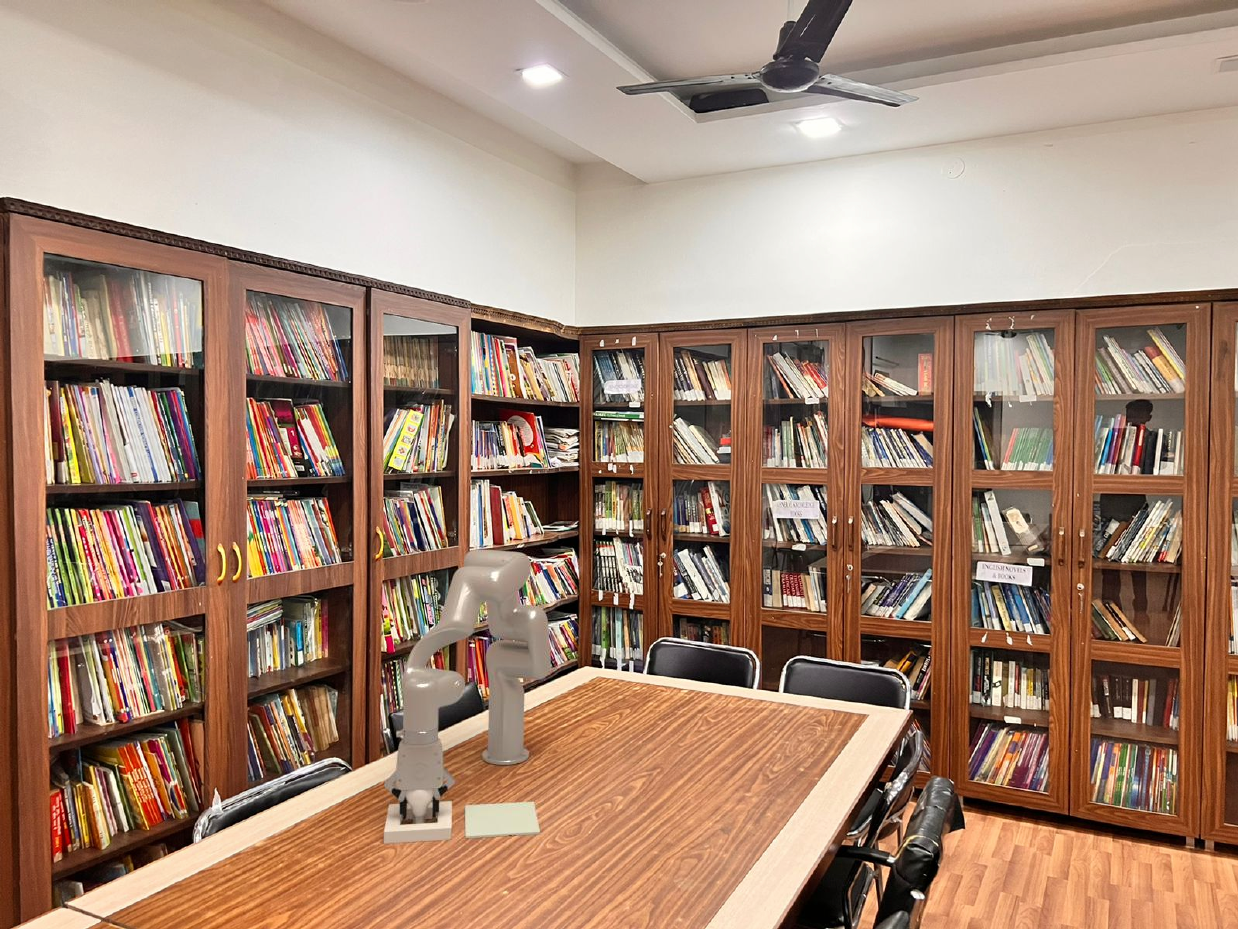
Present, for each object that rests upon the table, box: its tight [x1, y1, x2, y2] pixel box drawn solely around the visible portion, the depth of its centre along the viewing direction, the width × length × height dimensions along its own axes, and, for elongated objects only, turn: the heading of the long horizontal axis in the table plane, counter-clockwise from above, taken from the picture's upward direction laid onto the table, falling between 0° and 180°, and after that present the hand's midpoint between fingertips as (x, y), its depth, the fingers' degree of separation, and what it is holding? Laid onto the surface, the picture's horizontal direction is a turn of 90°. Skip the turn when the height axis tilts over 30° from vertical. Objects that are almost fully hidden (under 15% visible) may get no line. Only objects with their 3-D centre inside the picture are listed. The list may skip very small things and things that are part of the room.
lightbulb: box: [405, 789, 434, 824], centre depth 191 cm, size 6×6×11 cm
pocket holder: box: [383, 800, 453, 845], centre depth 191 cm, size 14×14×2 cm
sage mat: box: [464, 801, 541, 839], centre depth 195 cm, size 16×16×1 cm
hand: (419, 815), depth 191 cm, fingers closed on lightbulb, 5 cm apart
